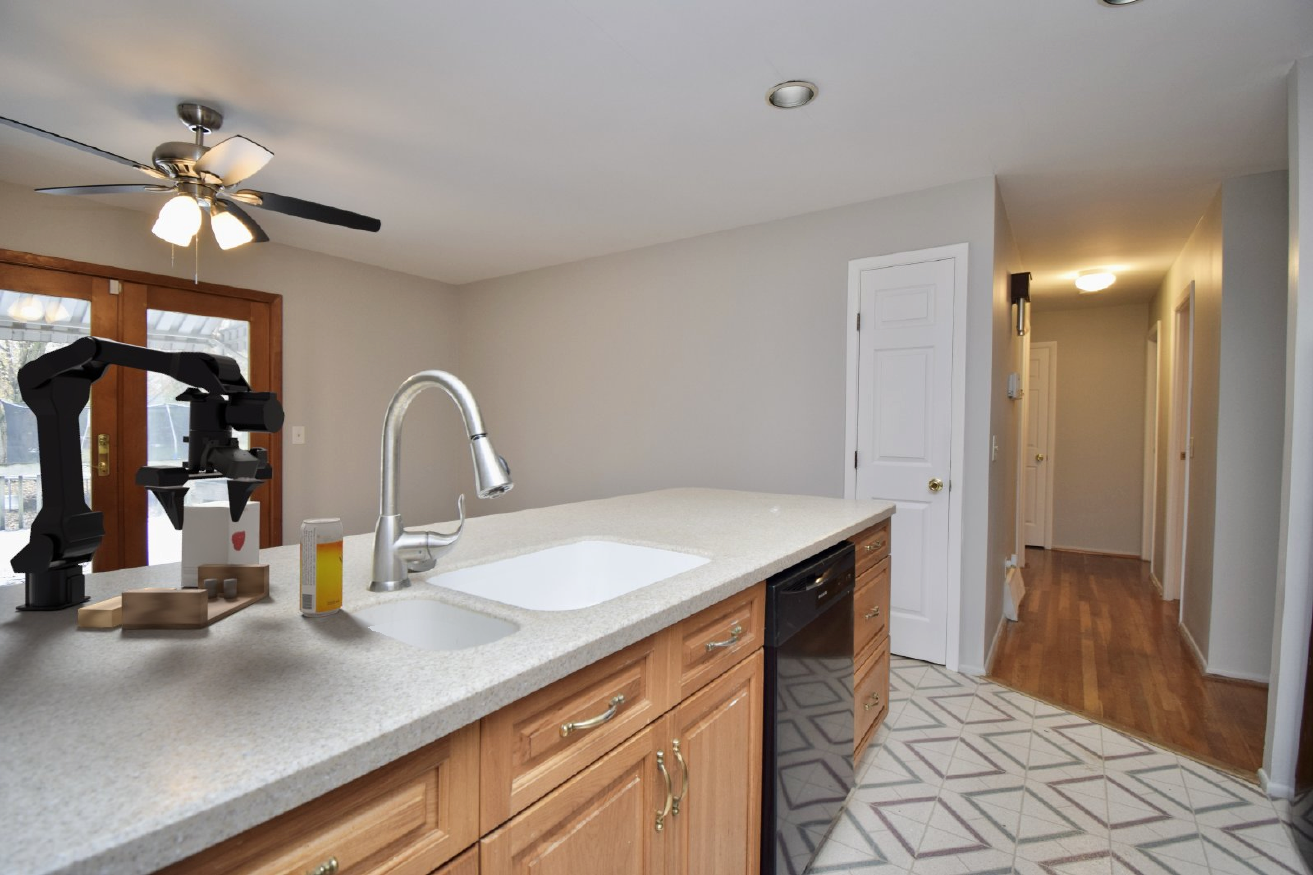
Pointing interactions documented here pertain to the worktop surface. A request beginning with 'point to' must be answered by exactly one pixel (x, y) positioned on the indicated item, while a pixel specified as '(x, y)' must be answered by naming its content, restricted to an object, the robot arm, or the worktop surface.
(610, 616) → the worktop surface
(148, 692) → the worktop surface
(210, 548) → the supplement box
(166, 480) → the robot arm
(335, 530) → the beer can
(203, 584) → the peg frame
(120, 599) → the shelf board
